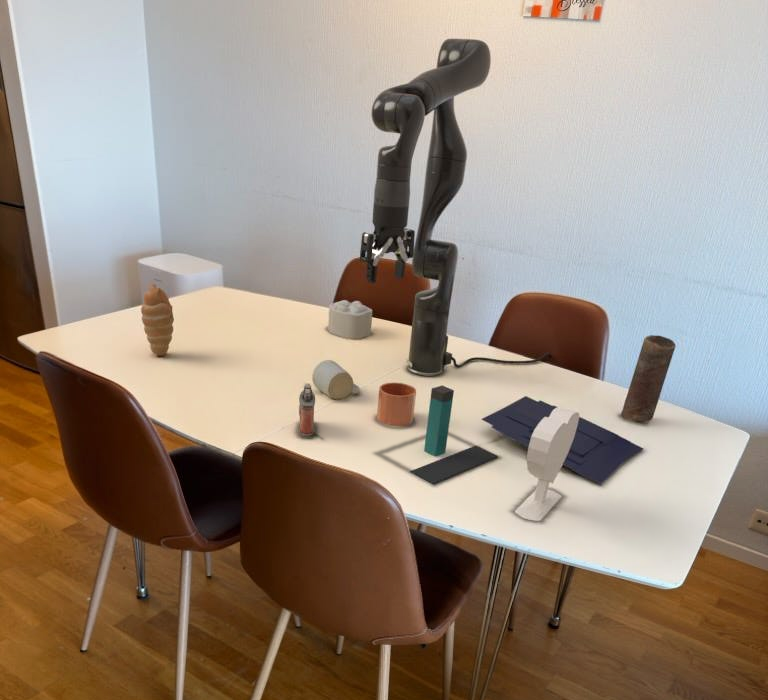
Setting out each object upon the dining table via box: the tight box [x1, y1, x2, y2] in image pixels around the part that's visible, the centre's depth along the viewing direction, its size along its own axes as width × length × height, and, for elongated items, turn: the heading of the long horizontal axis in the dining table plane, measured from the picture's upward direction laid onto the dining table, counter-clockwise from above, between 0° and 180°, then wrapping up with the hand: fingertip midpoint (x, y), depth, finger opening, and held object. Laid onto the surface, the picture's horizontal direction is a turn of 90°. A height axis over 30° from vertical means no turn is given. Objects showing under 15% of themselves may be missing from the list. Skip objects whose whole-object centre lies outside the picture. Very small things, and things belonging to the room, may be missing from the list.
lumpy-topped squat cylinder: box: [327, 299, 373, 340], centre depth 214 cm, size 10×13×9 cm
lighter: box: [298, 382, 316, 439], centre depth 151 cm, size 8×3×10 cm, turn 5°
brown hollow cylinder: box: [620, 334, 677, 424], centre depth 169 cm, size 8×7×20 cm
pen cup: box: [376, 382, 417, 427], centre depth 160 cm, size 8×8×8 cm
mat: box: [409, 445, 499, 485], centre depth 148 cm, size 20×16×1 cm
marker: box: [423, 385, 455, 458], centre depth 145 cm, size 3×3×14 cm
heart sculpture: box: [514, 406, 580, 522], centre depth 130 cm, size 16×5×18 cm, turn 148°
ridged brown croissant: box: [140, 282, 175, 357], centre depth 181 cm, size 9×8×18 cm
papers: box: [481, 395, 644, 485], centre depth 158 cm, size 24×30×4 cm
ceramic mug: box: [311, 359, 360, 401], centre depth 171 cm, size 11×8×8 cm
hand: (385, 280), depth 159 cm, fingers open, 8 cm apart
